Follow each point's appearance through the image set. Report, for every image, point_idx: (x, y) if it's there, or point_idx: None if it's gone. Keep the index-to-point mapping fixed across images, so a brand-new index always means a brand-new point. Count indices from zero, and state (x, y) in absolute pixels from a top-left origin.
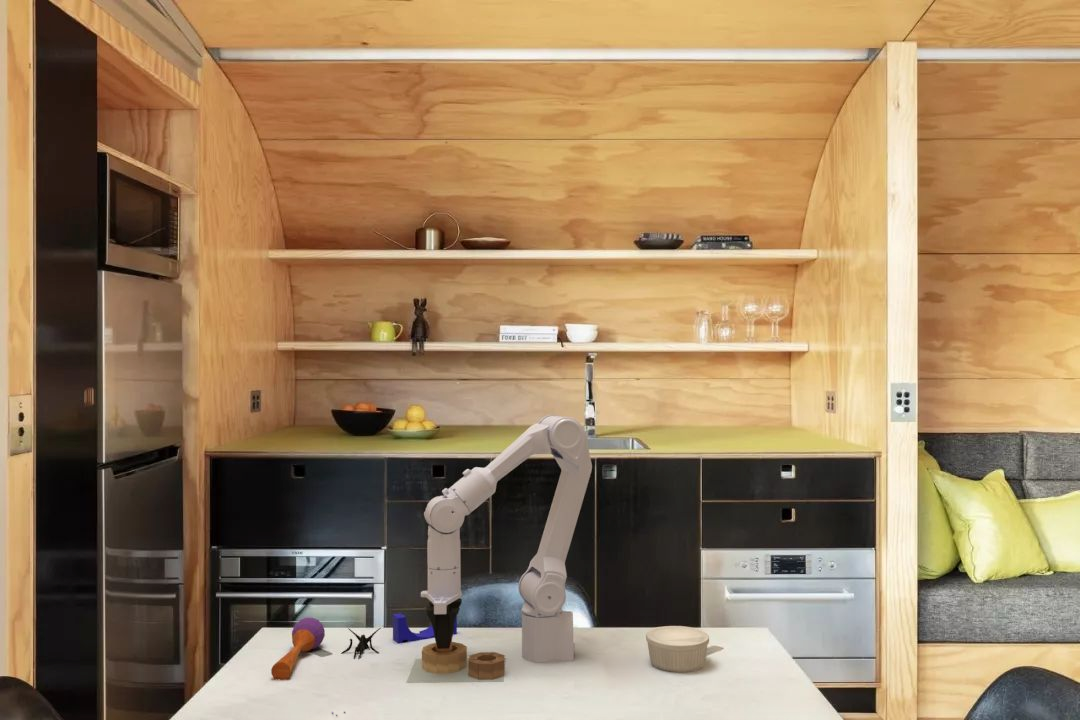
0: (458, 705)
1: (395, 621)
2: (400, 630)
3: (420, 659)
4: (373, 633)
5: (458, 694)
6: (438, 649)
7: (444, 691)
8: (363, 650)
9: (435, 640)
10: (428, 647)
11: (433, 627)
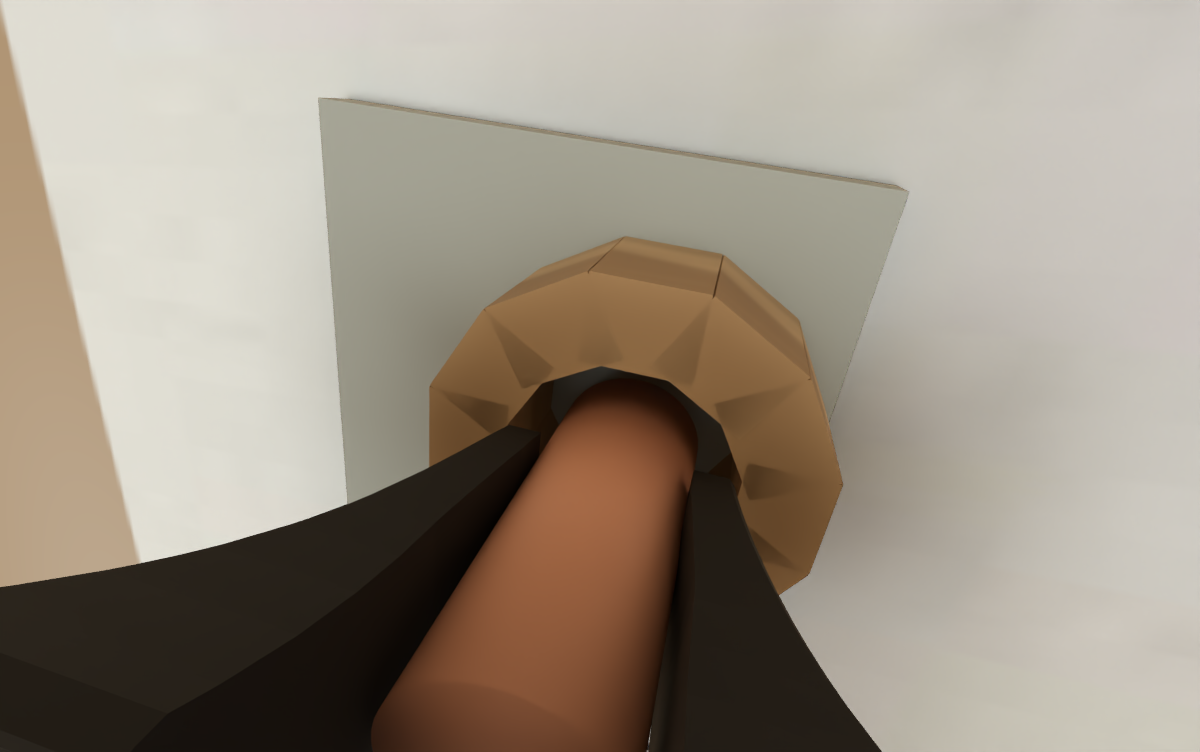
0: (154, 383)
1: None
2: None
3: (867, 236)
4: None
5: (283, 406)
6: (559, 428)
7: (318, 343)
8: None
9: (467, 448)
10: (681, 347)
11: (316, 522)
